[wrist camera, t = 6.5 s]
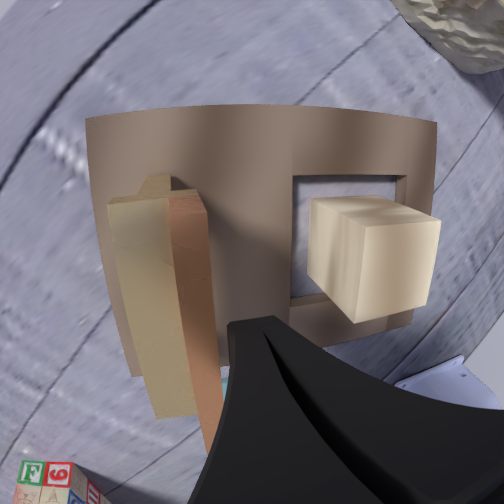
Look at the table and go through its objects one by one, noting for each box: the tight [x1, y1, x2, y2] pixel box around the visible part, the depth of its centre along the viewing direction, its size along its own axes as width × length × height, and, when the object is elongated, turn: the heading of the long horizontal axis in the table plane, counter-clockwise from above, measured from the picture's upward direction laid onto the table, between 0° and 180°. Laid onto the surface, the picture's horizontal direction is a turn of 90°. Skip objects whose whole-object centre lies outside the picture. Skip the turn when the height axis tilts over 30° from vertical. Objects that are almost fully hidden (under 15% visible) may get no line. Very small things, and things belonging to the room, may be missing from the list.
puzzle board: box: [85, 104, 437, 377], centre depth 17 cm, size 19×14×1 cm
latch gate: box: [107, 173, 224, 454], centre depth 11 cm, size 2×8×8 cm, turn 1°
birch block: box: [307, 195, 441, 324], centre depth 16 cm, size 4×4×6 cm
